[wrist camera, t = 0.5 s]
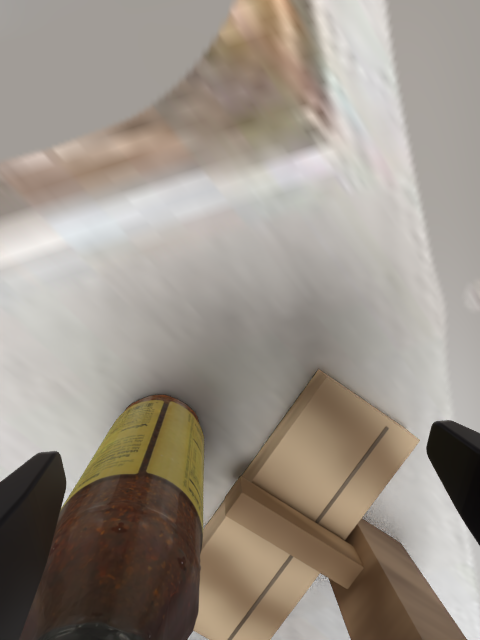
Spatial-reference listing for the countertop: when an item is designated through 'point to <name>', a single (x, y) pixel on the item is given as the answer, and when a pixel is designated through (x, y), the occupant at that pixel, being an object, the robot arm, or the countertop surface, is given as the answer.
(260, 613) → the board
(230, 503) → the gauge
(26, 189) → the countertop surface
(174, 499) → the sauce bottle
